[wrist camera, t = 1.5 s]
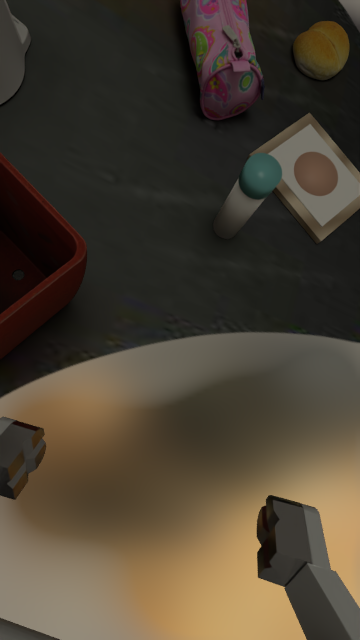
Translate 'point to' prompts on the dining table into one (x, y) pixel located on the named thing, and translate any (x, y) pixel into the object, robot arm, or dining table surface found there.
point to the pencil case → (222, 56)
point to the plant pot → (33, 259)
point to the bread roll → (321, 50)
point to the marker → (247, 194)
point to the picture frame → (314, 177)
